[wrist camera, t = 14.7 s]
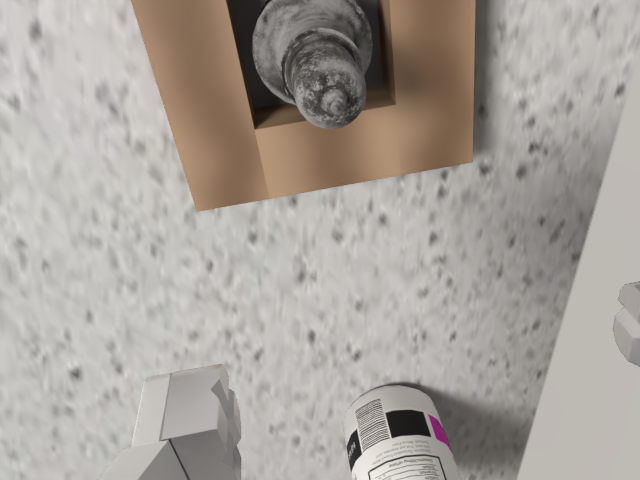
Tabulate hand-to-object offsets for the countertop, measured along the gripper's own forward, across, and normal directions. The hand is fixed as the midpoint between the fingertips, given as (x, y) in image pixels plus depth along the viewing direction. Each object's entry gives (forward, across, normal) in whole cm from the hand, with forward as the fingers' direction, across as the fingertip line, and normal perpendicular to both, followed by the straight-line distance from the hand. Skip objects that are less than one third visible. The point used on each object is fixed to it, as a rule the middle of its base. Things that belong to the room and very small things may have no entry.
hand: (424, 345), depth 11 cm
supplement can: (+24, +2, -32) cm, 40 cm away
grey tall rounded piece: (+23, 0, +1) cm, 23 cm away
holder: (+23, 0, +1) cm, 23 cm away
